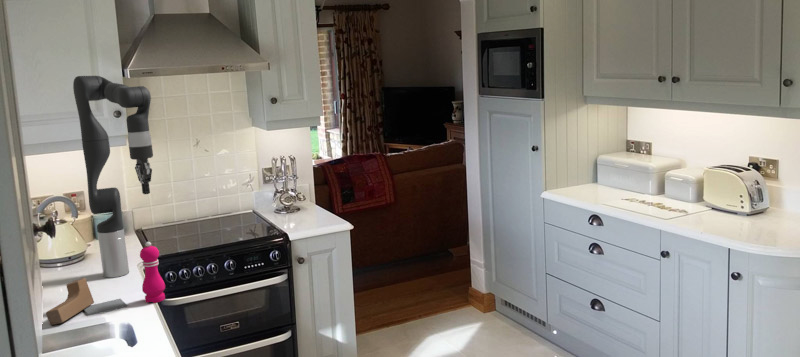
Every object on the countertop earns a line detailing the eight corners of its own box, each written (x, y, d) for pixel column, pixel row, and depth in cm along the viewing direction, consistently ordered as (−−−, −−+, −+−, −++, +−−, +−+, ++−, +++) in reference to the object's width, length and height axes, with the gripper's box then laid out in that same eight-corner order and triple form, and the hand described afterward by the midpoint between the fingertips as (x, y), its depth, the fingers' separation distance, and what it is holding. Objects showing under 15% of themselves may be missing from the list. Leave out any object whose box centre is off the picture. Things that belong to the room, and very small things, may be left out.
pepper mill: (144, 305, 233) (137, 245, 230) (143, 299, 240) (135, 241, 236) (167, 301, 236) (160, 242, 233) (165, 295, 242) (158, 237, 239)
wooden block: (73, 280, 236) (39, 298, 218) (85, 277, 235) (52, 295, 217) (83, 305, 237) (49, 326, 219) (94, 302, 236) (62, 322, 218)
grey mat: (82, 309, 233) (82, 307, 233) (120, 300, 240) (120, 298, 240) (87, 315, 226) (87, 313, 226) (127, 306, 233) (126, 304, 233)
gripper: (156, 144, 244) (162, 194, 247) (145, 142, 255) (151, 190, 258) (134, 147, 240) (140, 197, 243) (124, 144, 251) (130, 193, 254)
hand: (146, 193), depth 250 cm, fingers closed
